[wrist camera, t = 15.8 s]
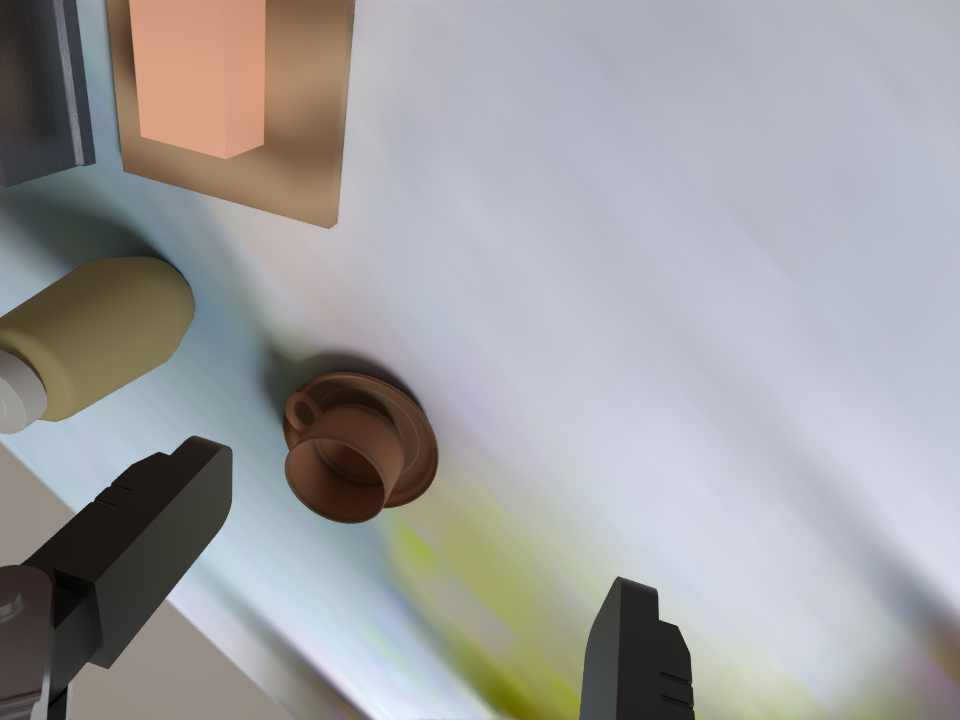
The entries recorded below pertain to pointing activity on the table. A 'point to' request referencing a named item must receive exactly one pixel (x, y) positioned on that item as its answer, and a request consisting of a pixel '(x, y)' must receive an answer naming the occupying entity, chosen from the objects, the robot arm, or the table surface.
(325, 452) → the cup and saucer
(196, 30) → the block
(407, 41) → the table surface
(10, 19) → the dispenser
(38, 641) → the robot arm
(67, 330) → the squeeze bottle
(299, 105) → the board
